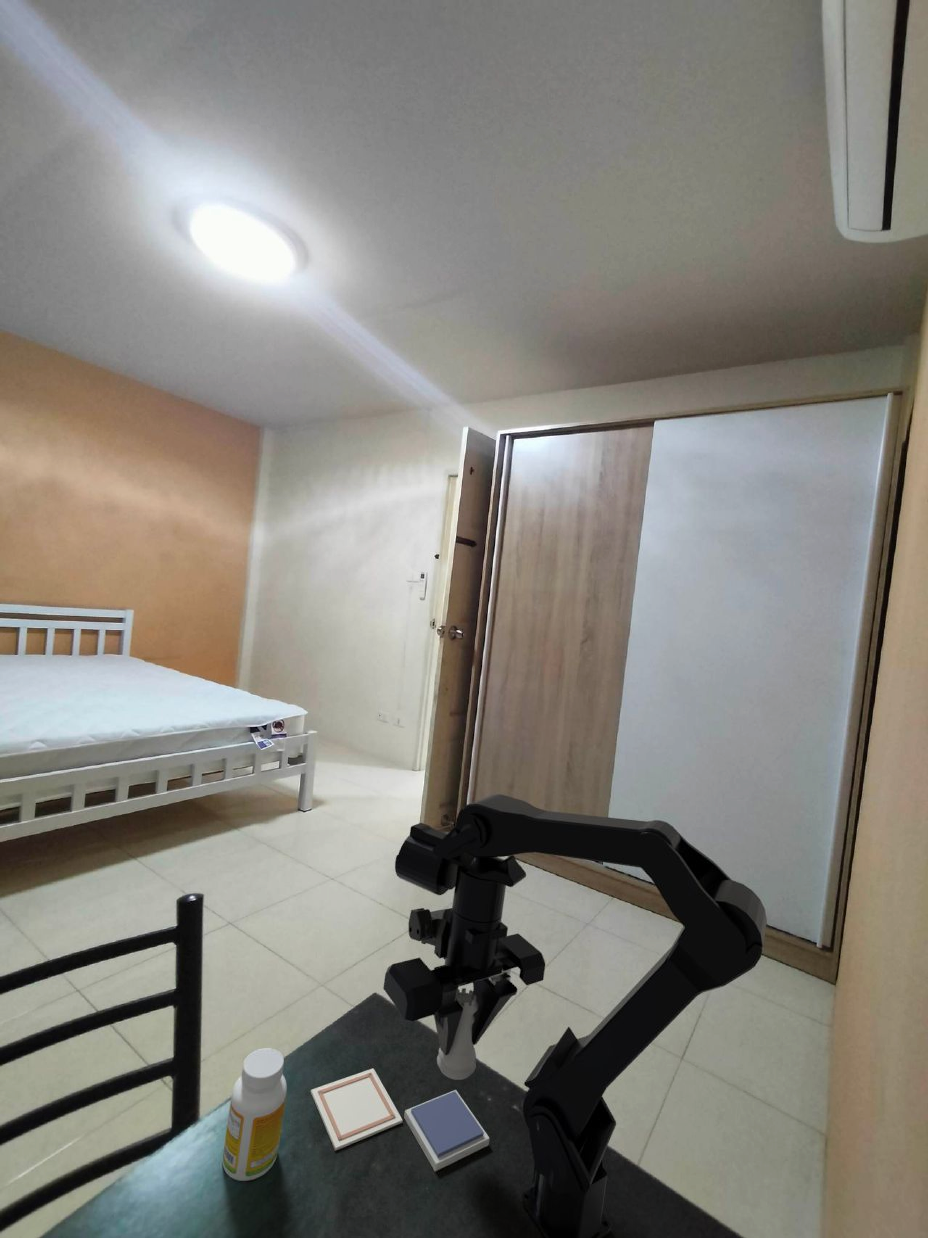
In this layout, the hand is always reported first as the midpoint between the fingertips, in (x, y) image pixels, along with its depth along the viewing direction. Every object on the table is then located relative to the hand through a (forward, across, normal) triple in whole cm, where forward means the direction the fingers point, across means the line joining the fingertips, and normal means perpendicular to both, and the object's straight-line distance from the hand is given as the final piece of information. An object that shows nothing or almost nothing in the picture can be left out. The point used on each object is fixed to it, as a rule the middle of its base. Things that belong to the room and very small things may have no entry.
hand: (458, 1047), depth 63 cm
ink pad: (+10, 0, 0) cm, 10 cm away
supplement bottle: (+10, +20, -6) cm, 23 cm away
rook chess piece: (+2, 0, 0) cm, 2 cm away
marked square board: (+10, +8, -7) cm, 14 cm away
